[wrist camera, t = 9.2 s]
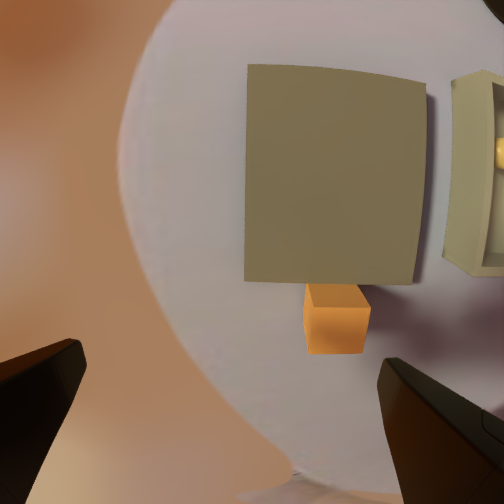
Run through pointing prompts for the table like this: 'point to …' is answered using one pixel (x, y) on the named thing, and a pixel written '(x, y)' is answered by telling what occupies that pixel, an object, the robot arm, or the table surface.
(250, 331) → the table surface
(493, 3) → the supplement bottle
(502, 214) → the tub
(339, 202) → the lid
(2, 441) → the robot arm
